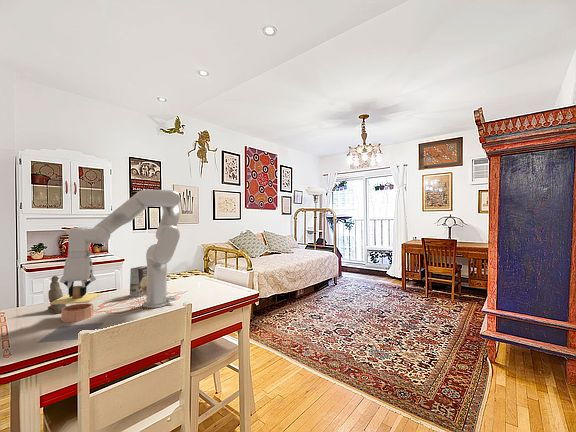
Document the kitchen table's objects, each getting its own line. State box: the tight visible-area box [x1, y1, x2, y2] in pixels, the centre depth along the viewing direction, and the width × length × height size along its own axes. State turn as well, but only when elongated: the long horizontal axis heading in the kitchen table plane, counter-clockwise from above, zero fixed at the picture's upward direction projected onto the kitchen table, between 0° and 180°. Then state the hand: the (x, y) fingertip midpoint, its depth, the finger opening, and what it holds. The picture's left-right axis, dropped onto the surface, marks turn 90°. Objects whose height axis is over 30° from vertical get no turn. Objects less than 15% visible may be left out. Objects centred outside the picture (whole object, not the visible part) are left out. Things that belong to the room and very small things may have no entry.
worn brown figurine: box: [47, 275, 67, 315], centre depth 135 cm, size 12×6×18 cm, turn 54°
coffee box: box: [129, 265, 147, 298], centre depth 164 cm, size 9×6×16 cm
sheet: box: [49, 285, 102, 306], centre depth 125 cm, size 14×14×6 cm
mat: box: [36, 322, 105, 344], centre depth 109 cm, size 16×16×1 cm
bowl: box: [60, 302, 94, 323], centre depth 125 cm, size 11×11×5 cm
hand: (77, 295), depth 125 cm, fingers closed on sheet, 3 cm apart
